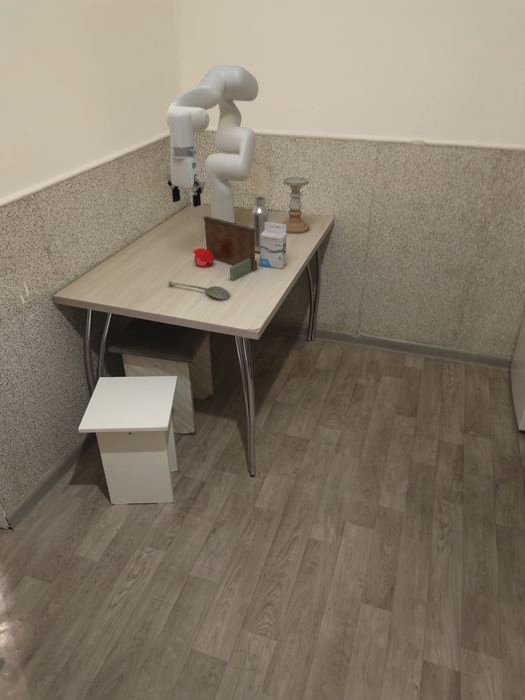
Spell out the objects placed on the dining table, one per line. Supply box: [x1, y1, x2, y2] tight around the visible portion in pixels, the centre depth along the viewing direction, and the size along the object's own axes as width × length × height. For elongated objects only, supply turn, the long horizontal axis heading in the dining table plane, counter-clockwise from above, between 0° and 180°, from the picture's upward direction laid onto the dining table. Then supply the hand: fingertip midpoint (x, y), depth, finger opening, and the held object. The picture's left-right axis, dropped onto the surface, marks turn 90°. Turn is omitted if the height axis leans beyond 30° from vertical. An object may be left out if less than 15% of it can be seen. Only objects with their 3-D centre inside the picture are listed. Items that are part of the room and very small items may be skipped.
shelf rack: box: [203, 215, 258, 281], centre depth 178 cm, size 23×13×15 cm, turn 52°
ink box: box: [259, 221, 288, 270], centre depth 180 cm, size 8×5×15 cm, turn 71°
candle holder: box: [281, 176, 310, 234], centre depth 211 cm, size 12×12×20 cm
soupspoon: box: [168, 280, 230, 301], centre depth 165 cm, size 22×3×7 cm
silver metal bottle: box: [250, 196, 269, 253], centre depth 190 cm, size 6×7×20 cm
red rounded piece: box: [192, 247, 215, 268], centre depth 182 cm, size 8×6×6 cm
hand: (186, 203), depth 177 cm, fingers open, 9 cm apart
